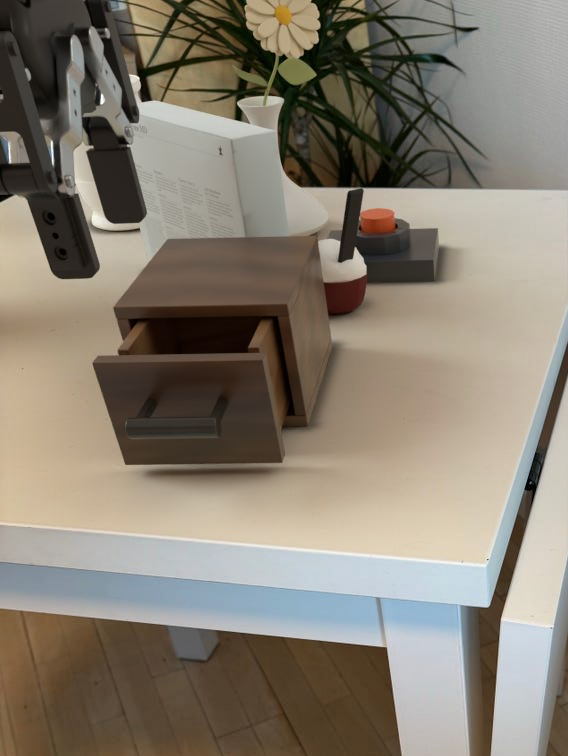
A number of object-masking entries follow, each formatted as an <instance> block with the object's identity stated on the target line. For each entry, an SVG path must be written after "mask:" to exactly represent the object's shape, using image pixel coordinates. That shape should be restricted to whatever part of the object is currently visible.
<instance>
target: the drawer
mask: <svg viewBox="0 0 568 756" xmlns="http://www.w3.org/2000/svg"><path fill="white" fill-rule="evenodd" d="M116 351H117V355H114V354H113V355H112V354H111V355H97V356H96V357H95V359H94V360H93V361H92V363H91V364H92V368H93V370H94V374H95V377H96V380H97V382H98V386H99V389H100V393H101V396H102V398H103V401H104V404H105V407H106V410H107V413H108V417H109V419H110V422H111V425H112V428H113V432H114V435H115V438H116V440H117V443H118V447H119V450H120V454H121V456H122V459H123V462H124V465H125V466H144V465H145V466H154V465H155V466H157V465H160V466H162V465H163V466H164V465H165V466H167V465H225V464H226V465H227V464H228V465H229V464H231V465H232V464H235V465H236V464H282V463H283V462H284V460H285V457H286V452H285V447H284V446H285V445H284V441H283V435H282V427H283V426H282V425H283V422H284V419H285V417H286V414H287V411H288V408H289V405H290V403H291V400H292V395H291V390H290V384H289V378H288V373H287V367H286V361H285V356H284V350H283V344H282V339H281V333H280V327H279V322H278V316H249V317H195V318H141V319H139V321H138V322H137V323H136V325H135V326H134V327H133V329H132V330H131V332H130V333H129V334H128V336H127V337H126V339H125V340H124V341H123V340H122V343H121V344H120V345H119V347H118V348H117V350H116Z"/></svg>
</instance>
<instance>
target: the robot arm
mask: <svg viewBox="0 0 568 756" xmlns="http://www.w3.org/2000/svg"><path fill="white" fill-rule="evenodd" d="M112 8H113V7H112V4H111V1H110V0H0V137H1V138H3V139H4V140H5V141H7V146H8V158H7V155H6V151H5V149H4V145H3V143H2V142H3V141H2V139H1V138H0V195H1V196H2V195H15V196H17V197H18V198H21V199H23V198H24V199H25V200H26V202H27V204H28V207H29V210H30V213H31V217H32V219H33V221H34V224H35V228H36V231H37V234H38V237H39V241H40V243H41V246H42V248H43V251H44V255H45V257H46V261H47V264H48V266H49V270H50V272H51V274H52V275H53V276H54V277H56V278H58V279H59V280H84V279H85V280H87V279H92V278H93V277H94V276H95V275H96V274H97V273H98V272H99V271H100V268H101V263H100V260H99V257H98V253H97V250H96V247H95V243H94V241H93V238H92V234H91V231H90V228H89V225H88V224H89V223H88V220H87V217H86V214H85V210H84V208H83V204H82V201H81V197H80V195H79V194H80V193H78V192H77V193H76V184H75V174H74V156H73V152H74V150H75V148H77V147H78V146H80V145H81V143H82V141H83V143H84V144H85V145H86V146H93V147H94V148H90V149H89V150H87V151H86V154H87V157H88V160H89V164H90V167H91V171H92V174H93V178H94V181H95V185H96V188H97V191H98V195H99V198H100V202H101V205H102V209H103V212H104V215H105V218H106V219H107V220H108V221H109V222H111V223H113V224H126V223H140V222H141V221H142V220H143V219H144V218H145V217H146V215H147V209H146V206H145V202H144V198H143V194H142V190H141V186H140V183H139V179H138V175H137V171H136V167H135V163H134V160H133V156H132V152H131V148H130V147H127V145H132V144H133V129H132V127H131V125H130V124H132V123H138V122H139V108H138V106H137V103H136V99H135V95H134V92H133V88H132V84H131V80H130V77H129V69H128V66H127V62H126V58H125V54H124V50H123V46H122V44H121V40H120V35H119V32H118V29H117V24H116V21H115V17H114V13H113V9H112ZM96 84H97V85H96ZM49 149H51V154H50V150H49ZM8 159H9V161H8Z"/></svg>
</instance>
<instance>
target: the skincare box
mask: <svg viewBox="0 0 568 756" xmlns="http://www.w3.org/2000/svg"><path fill="white" fill-rule="evenodd" d="M141 102H142V101H141ZM137 106H138V108H139V122H138V123H132V124H130V125H131V127H132V129H133V144H132V145H127V147H130V148H131V152H132V156H133V160H134V163H135V167H136V171H137V175H138V179H139V183H140V186H141V190H142V194H143V198H144V202H145V206H146V209H147V215H146V217H145V218H144V219H143V220H142V221H141V222H140V223H139V226H140V228H139V229H140V235H141V239H142V244H143V249H144V253H145V257H146V261H147V264H148V263H149V262H150V260H151V259H152V258H153V257H154V255H155V254H156V253H157V252H158V250H159V249H160V248H161V247H162V245H163V244H164V243H165V242H166V240H167V239H185V238H233V237H282V236H289V229H288V221H287V214H286V206H285V199H284V191H283V183H282V176H281V168H280V161H281V160H280V161H279V155H280V153H279V154H278V148H279V145H278V146H277V138H276V131H275V130H271V129H266V128H262V127H259V126H255V125H251V124H250V123H248V122H244V121H240V120H235V119H232V118H227V117H223V116H220V115H215V114H212V113H208V112H203V111H199V110H196V109H191V108H187V107H184V106H179V105H175V104H171V103H168V102H164V101H160V100H149V101H143V102H142V103H137Z"/></svg>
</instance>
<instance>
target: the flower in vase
mask: <svg viewBox="0 0 568 756" xmlns="http://www.w3.org/2000/svg"><path fill="white" fill-rule="evenodd" d="M245 1H246V5H245V6H244V11H245V19H246V22H245V25H246V27H247V29H248V30H249V31H252V34H253V37H254V39H256V40H257V41H260V46H261V48H262V49H263V50H264V51H269V52H270V53H274V54H275V61H274V65H273V70H272V72H271V76H270V78H269V81H268V83H267V82H266V80H265V79H264V78H263V77H262V76H259V75H257V74H253V73H249V72H247V71H244V70H242V69H240V68H238V67H237V66H235V65H234V64H231V66H232V69H233V71H234V73H235V74H236V75H237V76H238V77H239V78H241V79H243V80H245V81H247V82H250V83H254V84H257V85H260V86H264V87H266V89H265V92H264V95H260V96H259V95H258V96H257V95H256V96H252V97H245V98H242V99H240V100H238V101H237V102H236V104H237V106H238V108H240V110H241V111H242V112H243V113H244V115H245V116H246V118H247V120H248V122H249V124H251V125H255V126H259V127H262V128H266V129H271V130H275V131H276V138H277V146H278V154H279V161H280V168H281V176H282V183H283V191H284V199H285V206H286V214H287V221H288V229H289V236H312V235H314V234H316V233H317V232H319V231H321V230H322V229H323V228H325V226H326V225H327V223H328V221H329V219H330V216H329V212H328V211H327V208H326V207H325V205H323V204H322V203H321V202H320V201H319V200H318V199H317V198H316V197H315V196H314V195H312V194H311V193H309V192H308V191H306V190H305V189H303V188H302V187H300V186H299V185H298V184H296V183H295V182H294V181H292V179H290V177H288V176H287V174H286V172H285V170H284V168H283V165H282V162H281V156H280V149H279V139H278V138H279V136H278V126H279V125H278V124H279V117H280V113H281V110H282V107H283V105H284V103H285V99H284V98H283V97H282V96H276V95H275V96H273V95H269V93H270V90H271V87H272V85H273V82H274V79H275V77H276V74H277V72H278V73H279V75H280V76H281V77H282V78H283V79H284V80H285V81H286V82H287V83H289V84H291V85H293V86H299V85H302V84H304V83H306V82H309V81H311V80H312V79H314V78H315V77H317V73H316V71H315V70H313V68H312V67H311V66H310V65H309V64H307V63H306V62H305V61H303V60H302V59H300V57H302V56H304V54H305V50H306V51H310V50H312V49H313V47H314V45H317V44H318V43H319V41H320V38H319V33H318V30H320V29H321V22H320V20H319V18H320V11H319V10H318V6H317V4H315V3H313V2H312V0H245ZM283 55H285V57H287V59H285V60H284V61H283V62H282V63H280V64H279V60H280V57H282V56H283Z"/></svg>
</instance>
